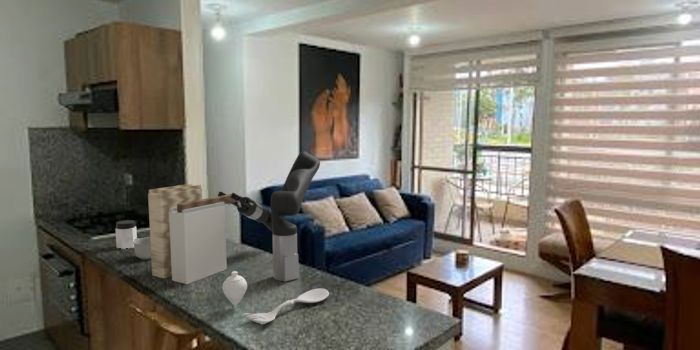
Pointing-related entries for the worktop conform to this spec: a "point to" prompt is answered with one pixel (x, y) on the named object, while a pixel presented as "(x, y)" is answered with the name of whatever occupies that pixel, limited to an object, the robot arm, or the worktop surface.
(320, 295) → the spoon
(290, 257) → the robot arm
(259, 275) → the worktop surface
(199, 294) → the worktop surface
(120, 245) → the jar
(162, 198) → the tall stand
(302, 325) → the worktop surface
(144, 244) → the teacup
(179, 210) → the walnut bar
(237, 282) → the spinning top
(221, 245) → the white upright box
